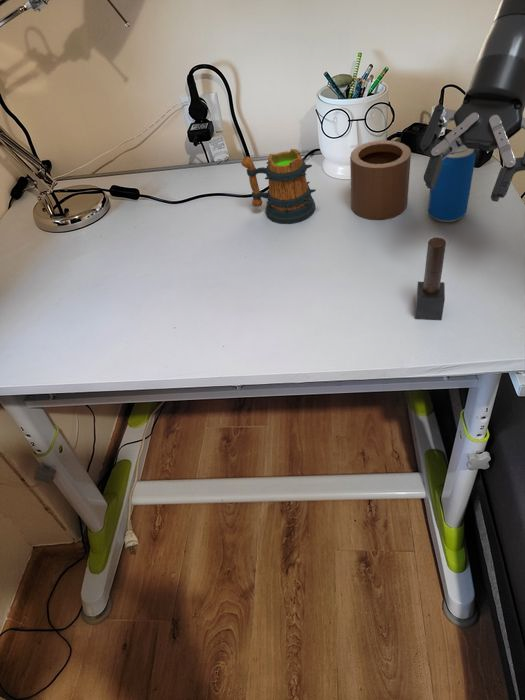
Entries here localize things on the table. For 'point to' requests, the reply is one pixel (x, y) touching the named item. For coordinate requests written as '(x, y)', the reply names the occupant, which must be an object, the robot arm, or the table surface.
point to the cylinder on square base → (432, 283)
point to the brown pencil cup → (380, 179)
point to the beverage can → (452, 186)
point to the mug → (283, 187)
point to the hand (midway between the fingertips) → (460, 193)
